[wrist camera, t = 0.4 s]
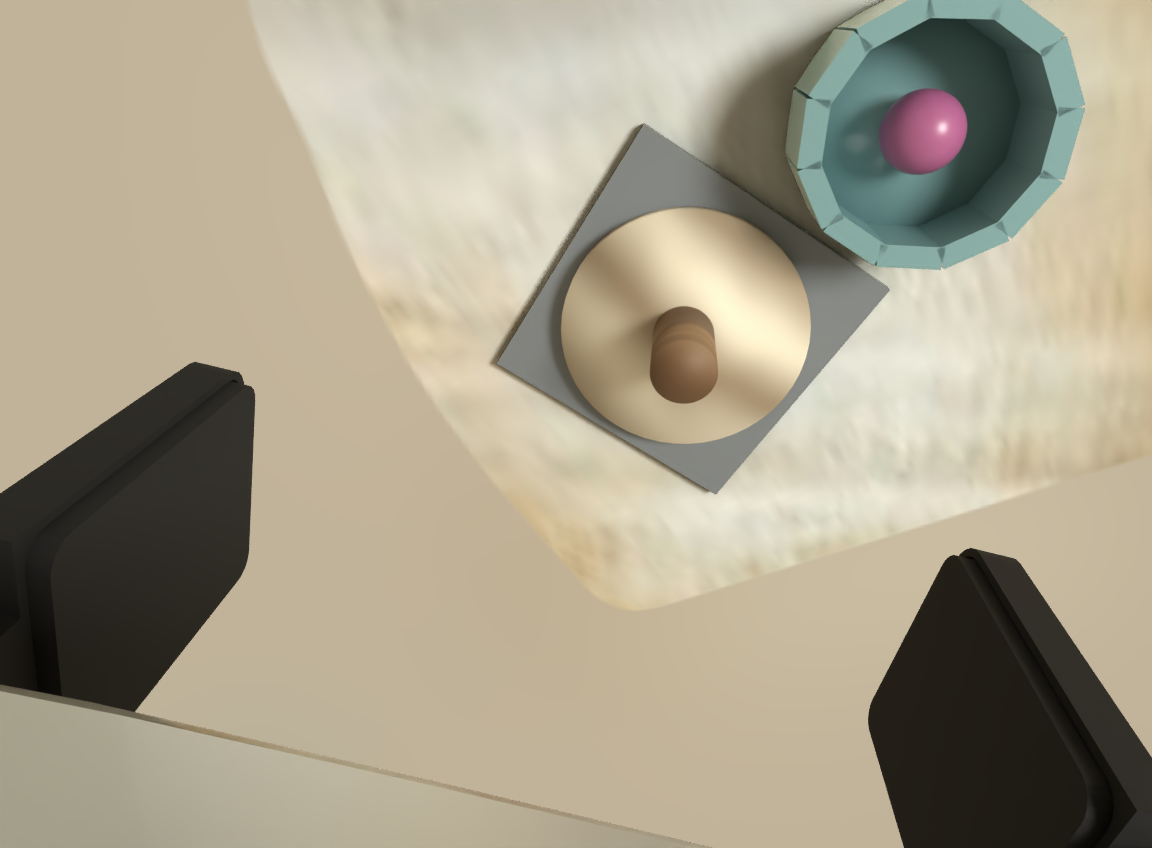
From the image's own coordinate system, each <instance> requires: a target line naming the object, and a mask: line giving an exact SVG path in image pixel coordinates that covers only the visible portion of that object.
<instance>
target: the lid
mask: <svg viewBox="0 0 1152 848" xmlns="http://www.w3.org/2000/svg"><path fill="white" fill-rule="evenodd" d="M810 332H811V319H810V309H809V304H808V298H807V295H806V292H805V289H804V286H803V283H802V281H801V278H800V276H799V274H798V272H797V270H796V269H795V267H794V265H793V263H792V261H791V260H790V258H789V257H788V256H787V254H786V253H785V251H784V250H783V249H782V248H781V247H780V246H779V245H778V244H777V243H776V241H775V240H774V239H773V238H772V237H771V236H769V235H768V234H767V233H765V232H764V231H763V230H761V229H760V228H759V227H757V226H756V225H754V224H752V223H750V222H749V221H747V220H745V219H743V218H741V217H738V216H736V215H733V214H731V213H728V212H725V211H721V210H717V209H713V208H706V207H697V206H677V207H670V208H664V209H659V210H655V211H652V212H648V213H645V214H642V215H640V216H638V217H635V218H633V219H631V220H628V221H627V222H625V223H623V224H622V225H620V226H618V227H617V228H615V229H614V230H612V231H611V232H610V233H609V234H607V235H606V236H605V237H604V238H602V239H601V240H600V241H599V242H598V243H597V244H596V245H595V246H594V247H593V248H592V250H591V251H590V252H589V253H588V255H587V256H586V257H585V259H584V260H583V261H582V263H581V264H580V266H579V268H578V270H577V272H576V273H575V275H574V277H573V280H572V282H571V285H570V287H569V290H568V293H567V295H566V298H565V303H564V307H563V311H562V321H561V337H562V346H563V352H564V357H565V360H566V363H567V366H568V369H569V372H570V374H571V376H572V378H573V380H574V382H575V384H576V385H577V387H578V388H579V390H580V391H581V393H582V394H583V396H584V397H585V398H586V399H587V400H588V402H589V403H590V404H591V405H592V406H593V407H594V408H595V409H596V410H597V411H598V412H599V413H600V414H602V415H603V416H604V417H605V418H606V419H608V420H609V421H611V422H612V423H614V424H615V425H617V426H618V427H620V428H622V429H624V430H626V431H628V432H630V433H632V434H635V435H638V436H640V437H643V438H646V439H650V440H654V441H658V442H665V443H673V444H693V443H703V442H708V441H713V440H718V439H721V438H724V437H727V436H730V435H733V434H735V433H738V432H740V431H742V430H744V429H746V428H748V427H750V426H751V425H753V424H754V423H756V422H758V421H759V420H761V419H762V418H763V417H764V416H766V415H767V414H768V413H769V412H771V411H772V410H773V409H774V408H775V407H776V406H777V405H778V404H779V403H780V402H781V401H782V400H783V399H784V397H785V396H786V395H787V393H788V392H789V390H790V389H791V388H792V386H793V385H794V383H795V381H796V379H797V377H798V376H799V374H800V372H801V369H802V367H803V364H804V362H805V359H806V355H807V351H808V347H809V343H810Z"/></svg>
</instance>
